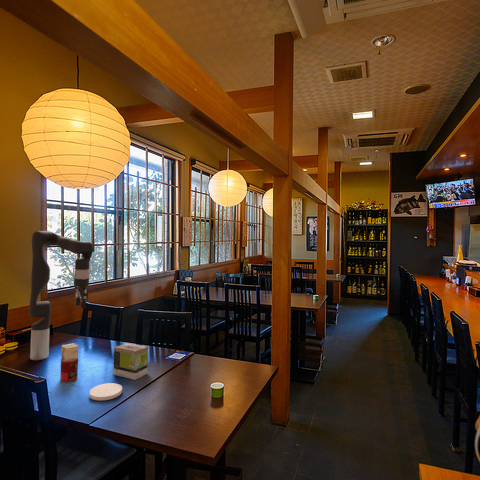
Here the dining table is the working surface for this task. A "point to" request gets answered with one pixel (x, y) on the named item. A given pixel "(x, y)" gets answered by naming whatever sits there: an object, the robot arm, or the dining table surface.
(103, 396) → the plastic lid
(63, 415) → the dining table surface
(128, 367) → the tea box
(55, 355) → the dining table surface
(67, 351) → the block
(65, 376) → the canned food
